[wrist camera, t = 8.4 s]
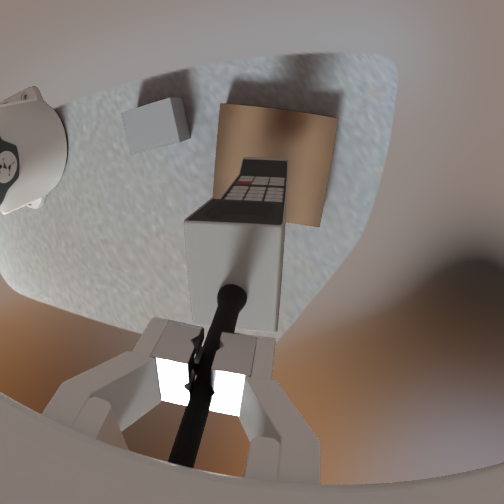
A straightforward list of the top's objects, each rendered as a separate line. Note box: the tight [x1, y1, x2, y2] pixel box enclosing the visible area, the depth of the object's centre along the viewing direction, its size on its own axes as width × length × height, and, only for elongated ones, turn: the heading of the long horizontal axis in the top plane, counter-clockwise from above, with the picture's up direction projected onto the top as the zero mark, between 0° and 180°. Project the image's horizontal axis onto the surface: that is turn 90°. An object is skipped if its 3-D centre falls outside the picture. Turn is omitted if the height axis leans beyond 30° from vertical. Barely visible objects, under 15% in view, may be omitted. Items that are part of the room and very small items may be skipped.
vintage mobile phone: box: [168, 157, 289, 468], centre depth 16 cm, size 4×5×25 cm
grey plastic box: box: [121, 97, 191, 155], centre depth 33 cm, size 6×5×4 cm
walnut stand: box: [213, 103, 338, 227], centre depth 34 cm, size 12×12×3 cm
